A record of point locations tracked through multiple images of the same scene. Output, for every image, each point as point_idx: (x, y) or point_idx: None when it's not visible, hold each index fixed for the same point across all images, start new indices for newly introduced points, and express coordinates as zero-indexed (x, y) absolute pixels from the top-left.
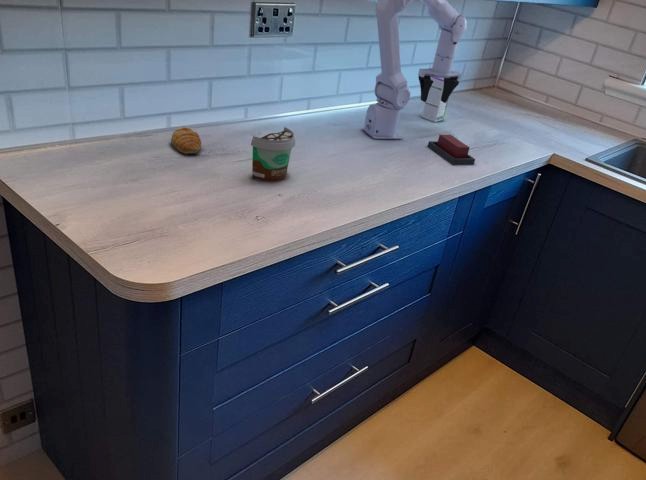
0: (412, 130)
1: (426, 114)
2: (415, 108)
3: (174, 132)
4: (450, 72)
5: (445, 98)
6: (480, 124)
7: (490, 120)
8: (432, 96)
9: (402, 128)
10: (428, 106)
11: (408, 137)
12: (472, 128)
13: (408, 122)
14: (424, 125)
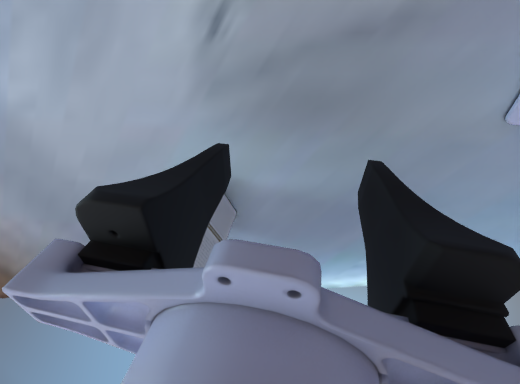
0: (369, 112)
1: (226, 210)
2: None
3: None
4: (136, 324)
5: (219, 158)
6: (55, 150)
7: (19, 174)
8: (202, 252)
9: (400, 135)
10: (218, 228)
11: (487, 21)
12: (90, 120)
13: (318, 183)
14: (271, 156)
